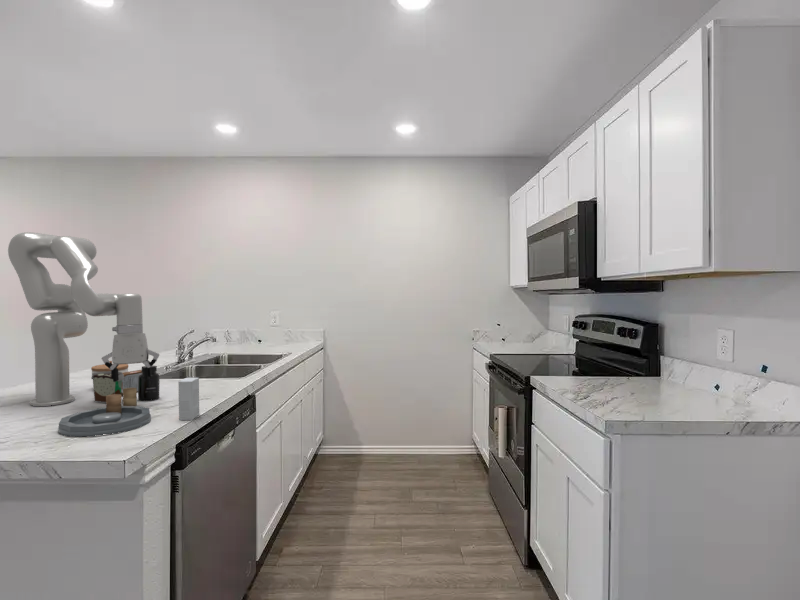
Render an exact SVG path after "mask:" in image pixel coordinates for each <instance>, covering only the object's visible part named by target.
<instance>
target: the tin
mask: <svg viewBox="0 0 800 600" xmlns="http://www.w3.org/2000/svg"><path fill="white" fill-rule="evenodd" d="M141 370H142V369H139V370H138V369H137V370H131V371H130V370H129V371H128V372H124V373H123V375H124V379H123V380H122V388H121V396H123V389H125V388H137V393H138V377H139V375H140V374H142V372H141Z"/></svg>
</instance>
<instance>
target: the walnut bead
mask: <svg viewBox="0 0 800 600" xmlns="http://www.w3.org/2000/svg"><path fill="white" fill-rule="evenodd" d="M121 406H122V395H121V394H112V395H107V396H106V403H105V407H106V413H110V412H118V413H121Z"/></svg>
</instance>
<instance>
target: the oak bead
mask: <svg viewBox="0 0 800 600" xmlns="http://www.w3.org/2000/svg"><path fill="white" fill-rule="evenodd" d="M137 399H138V392H137V388H125V389H123V395H122V406H138V403H137Z"/></svg>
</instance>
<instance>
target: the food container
mask: <svg viewBox="0 0 800 600" xmlns="http://www.w3.org/2000/svg"><path fill="white" fill-rule="evenodd" d="M118 377H119V380H118V381H116V382H113V379H112V377H111V372H98V373H92V372H91V380H92V386H93V388H92V389H93V399H94V400H93V401H94V402H95V401H97V402H96V403H103V402H106V396H107V395H112V394H121V388H122V380H123V379H124V375H123V373H122V372H118Z"/></svg>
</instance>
